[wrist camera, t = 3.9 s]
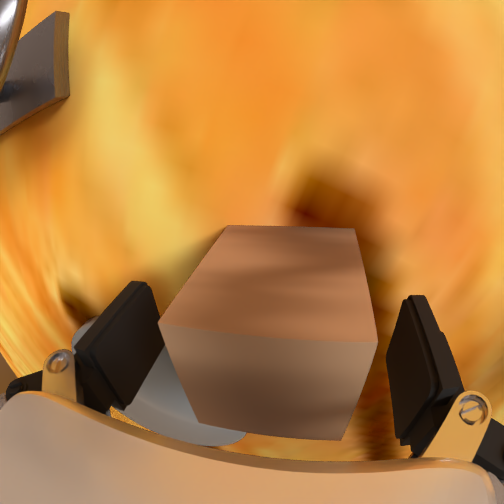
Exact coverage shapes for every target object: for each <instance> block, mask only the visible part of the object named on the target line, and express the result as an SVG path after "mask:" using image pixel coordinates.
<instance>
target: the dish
mask: <svg viewBox="0 0 504 504" xmlns="http://www.w3.org/2000/svg"><path fill="white" fill-rule="evenodd" d="M98 317H99V316H95V317H93V318H91V319H89V320H87V321H86V322H85V323H84V324H83V325H82V326H81V327H80V329H79V330H78V331H77V332H76V333H75V335H74V336H73V339H72V353H73V354H75V353H76V351H75V349H74V348H73V347H74V346H75V345H76V343H77V342H78V341H79V340H80V338H81V337H82V336H83V335H84V334H85V333H86V331H87V330H88V329H89V328H90V327H91V325H92V324H93V323H94V322H95V321H96V320H97V319H98ZM111 406H112V405H111ZM115 409H116V410H118V411H119V412H121V413H122V414H123V415H125V416H126V417H128V418H129V419H131V420H133V421H134V422H136V423H138V424H139V425H141V426H143V427H145V428H147V429H149V430H151V431H153V432H156V433H158V434H160V435H163V436H167V437H170V438H173V439H177V440H181V441H184V442H188V443H192V444H196V445H202V446H223V445H229V444H233V443H235V442H237V441H239V440H241V439H242V438H243V437H244V436H245V435H246V433H247V432H241V431H235V430H230V429H225V428H220V427H215V426H210V425H206V424H201V423H199V422H198V420H197V418H196V416H195V414H194V412H193V410H192V407H191V405H190V403H189V401H188V398H187V396H186V394H185V392H184V389H183V387H182V385H181V382H180V380H179V378H178V375H177V373H176V370H175V368H174V365H173V363H172V360H171V358H170V355H169V353H168V350H167V347H166V345H165V346H164V348H163V349H162V351H161V353H160V354H159V356H158V358H157V360H156V361H155V363H154V365H153V366H152V368H151V370H150V372H149V373H148V375H147V377H146V379H145V380H144V382H143V384H142V386H141V387H140V389H139V391H138V393H137V394H136V396H135V398H134V400H133V401H132V403H131V404H130V405H127V407H126V409H125V410H124V411H122V410H119V409H117V408H115Z"/></svg>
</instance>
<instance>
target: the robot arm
mask: <svg viewBox="0 0 504 504" xmlns="http://www.w3.org/2000/svg"><path fill="white" fill-rule="evenodd" d="M159 320H160V315H159V312H158V309H157V306H156V303H155V300H154V297H153V293H152V290H151V288H150V286H148V285H147V283H146V282H141V281H131V282H130V283H129V284H128V285H127V286H126V287H125V288H124V289H123V291H122V292H121V293H120V294H119V295H118V296H117V297H116V298H115V299H114V300H113V302H112V303H111V304H110V305H109V306H108V307H107V308H106V309H105V311H104V312H103V313H102V314H101V315H100V316H99V317H98V319H97V320H96V321H95V322H94V323H93V324H92V325H91V327H90V328H89V329H88V330H87V331H86V333H85V334H84V335H83V336H82V337H81V338H80V340H79V341H78V342H77V343H76V345H75V346H74V347H73V348H74V349H75V351H76V353H75V354H73V353H72V352H71V351H69V350H66V349H62V350H58V351H55V352H53V353H52V354H51V355H49V356H48V358H47V359H46V360H45V362H44V366H43V370H41V371H38V372H35V373H32V374H29V375H26V376H23V377H20V378H18V379H15V380H14V381H12V382H11V383H10V384H9V386H8V388H7V390H6V395H5V394H4V393H3V394H1V395H0V504H504V426H503V425H502V424H500V423H499V422H497V421H495V420H494V419H492V418H491V416H492V407H491V404H490V402H489V400H488V399H487V397H486V396H484V395H483V394H482V393H480V392H477V391H470V390H469V391H466V392H465V391H464V388H463V384H462V381H461V378H460V375H459V372H458V369H457V366H456V364H455V361H454V358H453V355H452V353H451V350H450V347H449V345H448V342H447V340H446V337H445V335H444V333H443V332H441V331H440V329H439V327H438V324H437V322H436V320H435V317H434V315H433V313H432V310H431V308H430V306H429V304H428V301H427V299H426V297H425V296H424V295H409V296H408V298H407V299H404V300H403V302H402V305H401V309H400V312H399V316H398V319H397V323H396V326H395V329H394V332H393V335H392V338H391V341H390V344H389V347H388V350H387V354H386V364H387V371H388V377H389V384H390V391H391V399H392V407H393V416H394V426H395V436H396V438H397V439H399V438H400V445H401V446H405V445H410V446H411V451H412V454H411V455H410V457H409V458H408V459H393V460H379V461H355V462H324V461H301V460H288V459H277V458H268V457H260V456H253V455H246V454H240V453H234V452H229V451H224V450H218V449H214V448H209V447H205V446H200V445H196V444H192V443H188V442H184V441H181V440H177V439H173V438H170V437H167V436H163V435H160V434H157V433H153V432H150V431H147V430H144V429H141V428H139V427H136V426H133V425H130V424H127V423H125V422H122V421H120V420H117V419H114V418H112V417H111V414H110V407H111V405H112V406H113V407H114V408H117V409H119V410H122V411H124V410H125V409H126V407H127V405H130V404H131V403H132V401H133V400H134V398H135V396H136V394H137V393H138V391H139V389H140V387H141V386H142V384H143V382H144V380H145V379H146V377H147V375H148V373H149V372H150V370H151V368H152V366H153V365H154V363H155V361H156V360H157V358H158V356H159V354H160V353H161V351H162V349H163V348H164V346H165V342H164V339H163V337H162V334H161V331H160V328H159V325H158V321H159Z"/></svg>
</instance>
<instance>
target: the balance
mask: <svg viewBox="0 0 504 504" xmlns="http://www.w3.org/2000/svg"><path fill="white" fill-rule="evenodd" d="M27 2H28V0H0V135H2V134H3V133H5V132H6V131H8V130H9V129H11V128H12V127H14V126H15V125H17V124H19V123H20V122H22V121H23V120H25V119H27V118H29V117H30V116H32V115H34V114H35V113H37V112H39V111H41V110H43V109H45V108H46V107H48V106H50V105H52V104H54V103H56V102H58V101H60V100H62V99H64V98H66V97H68V96H70V93H69V75H68V26H69V13H66V12H59V11H55V12H54V13H52V14H51V15H50V16H48V17H47V18H46V19H44V20H43V21H42V22H40V23H39V24H38V25H37V26H35V27H34V28H33V29H32V30H31V31H29V32H28V33H27V34H26V35H25V36H23V37H22V38H21V39H20V40H19V37H20V33H21V29H22V26H23V22H24V17H25V13H26V8H27ZM18 40H19V41H18Z"/></svg>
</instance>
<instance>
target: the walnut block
mask: <svg viewBox="0 0 504 504" xmlns="http://www.w3.org/2000/svg"><path fill="white" fill-rule="evenodd" d="M158 325H159V328H160V331H161V334H162V337H163V339H164V342H165V345H166V347H167V350H168V353H169V355H170V358H171V360H172V363H173V365H174V368H175V370H176V373H177V375H178V378H179V380H180V382H181V385H182V387H183V389H184V392H185V394H186V396H187V398H188V401H189V403H190V405H191V407H192V410H193V412H194V414H195V416H196V418H197V420H198V422H199V423H201V424H206V425H210V426H215V427H220V428H225V429H230V430H235V431H241V432H247V433H254V434H261V435H268V436H277V437H286V438H297V439H312V440H341V439H342V437H343V435H344V433H345V430H346V428H347V426H348V423H349V421H350V419H351V416H352V414H353V412H354V409H355V407H356V404H357V402H358V399H359V397H360V394H361V391H362V389H363V386H364V383H365V380H366V378H367V375H368V372H369V369H370V366H371V363H372V360H373V357H374V354H375V351H376V348H377V344H378V338H377V332H376V326H375V320H374V315H373V309H372V304H371V299H370V294H369V289H368V284H367V280H366V275H365V271H364V266H363V262H362V258H361V254H360V249H359V245H358V242H357V238H356V234H355V230H354V229H348V228H322V227H290V226H244V225H228V226H227V227H226V228H225V230H224V231H223V232H222V234H221V235H220V236H219V238H218V239H217V241H216V242H215V243H214V245H213V246H212V247H211V249H210V250H209V251H208V253H207V254H206V255H205V257H204V258H203V259H202V261H201V262H200V264H199V265H198V266H197V268H196V269H195V270H194V272H193V273H192V275H191V276H190V277H189V279H188V280H187V282H186V283H185V284H184V286H183V287H182V289H181V290H180V291H179V293H178V294H177V296H176V297H175V298H174V300H173V301H172V303H171V304H170V305H169V307H168V308H167V310H166V311H165V313H164V314H163V315H162V317H161V318H160V320H159V321H158Z"/></svg>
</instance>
